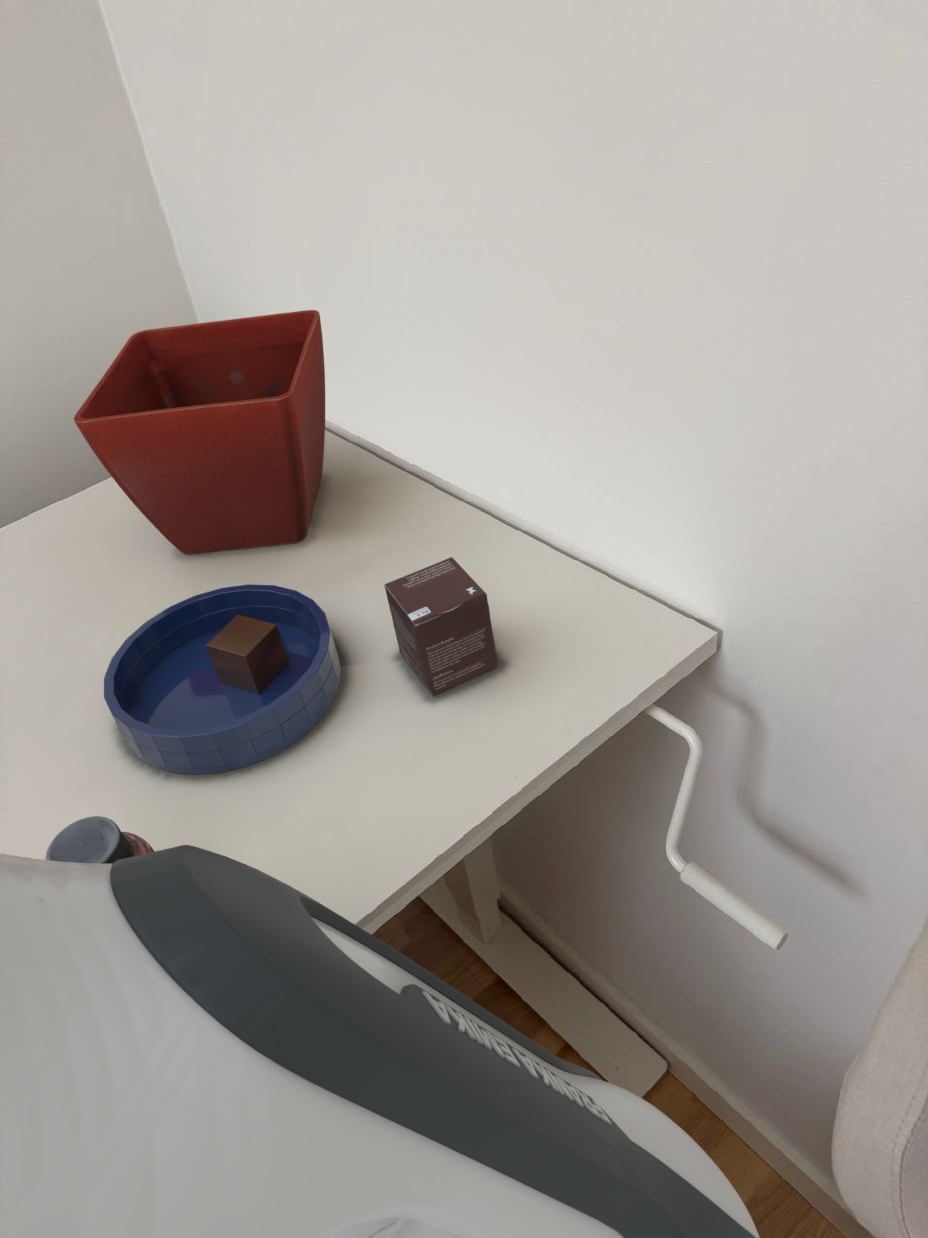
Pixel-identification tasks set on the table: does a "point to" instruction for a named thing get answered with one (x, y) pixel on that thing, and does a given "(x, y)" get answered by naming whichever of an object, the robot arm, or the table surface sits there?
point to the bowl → (195, 697)
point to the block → (248, 653)
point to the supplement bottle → (95, 843)
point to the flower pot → (216, 428)
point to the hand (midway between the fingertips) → (199, 1040)
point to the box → (442, 625)
